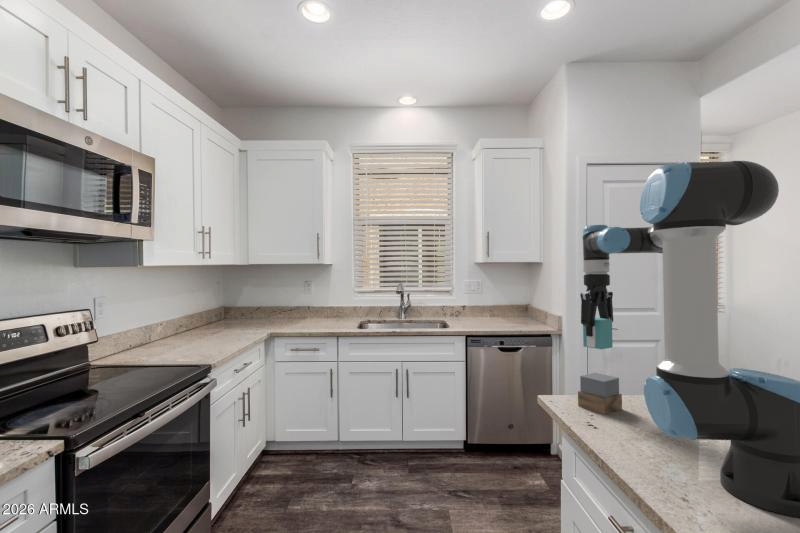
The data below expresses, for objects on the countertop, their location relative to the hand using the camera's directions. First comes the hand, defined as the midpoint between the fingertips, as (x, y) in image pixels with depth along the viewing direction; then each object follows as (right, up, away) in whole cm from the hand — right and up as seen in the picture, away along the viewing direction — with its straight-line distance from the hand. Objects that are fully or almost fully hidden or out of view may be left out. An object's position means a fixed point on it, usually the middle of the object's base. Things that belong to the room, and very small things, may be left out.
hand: (597, 345), depth 126 cm
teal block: (0, 0, 0) cm, 0 cm away
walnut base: (0, -20, -1) cm, 20 cm away
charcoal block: (0, -15, -1) cm, 15 cm away
